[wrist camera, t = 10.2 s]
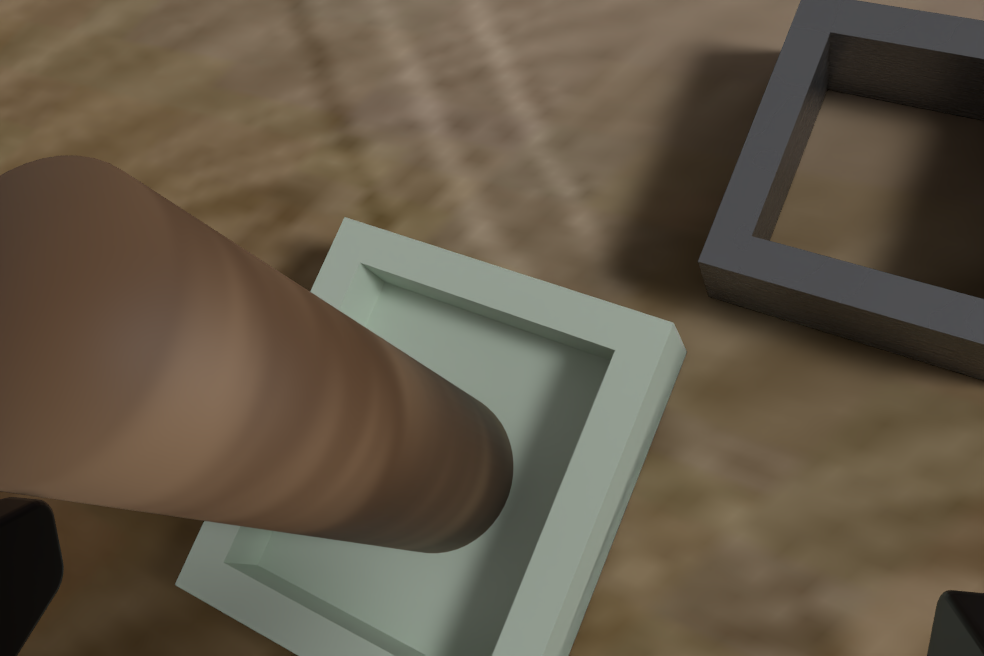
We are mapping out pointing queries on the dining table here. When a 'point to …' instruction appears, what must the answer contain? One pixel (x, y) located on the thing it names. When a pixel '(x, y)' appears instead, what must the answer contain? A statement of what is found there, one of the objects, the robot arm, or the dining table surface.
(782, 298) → the socket
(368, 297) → the tray
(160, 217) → the key peg
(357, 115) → the dining table surface
